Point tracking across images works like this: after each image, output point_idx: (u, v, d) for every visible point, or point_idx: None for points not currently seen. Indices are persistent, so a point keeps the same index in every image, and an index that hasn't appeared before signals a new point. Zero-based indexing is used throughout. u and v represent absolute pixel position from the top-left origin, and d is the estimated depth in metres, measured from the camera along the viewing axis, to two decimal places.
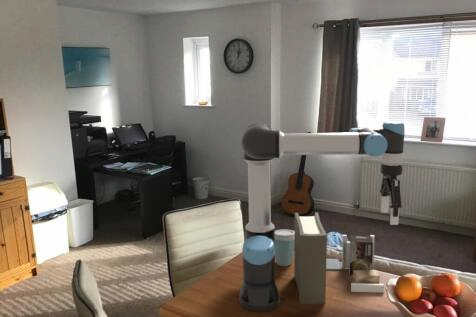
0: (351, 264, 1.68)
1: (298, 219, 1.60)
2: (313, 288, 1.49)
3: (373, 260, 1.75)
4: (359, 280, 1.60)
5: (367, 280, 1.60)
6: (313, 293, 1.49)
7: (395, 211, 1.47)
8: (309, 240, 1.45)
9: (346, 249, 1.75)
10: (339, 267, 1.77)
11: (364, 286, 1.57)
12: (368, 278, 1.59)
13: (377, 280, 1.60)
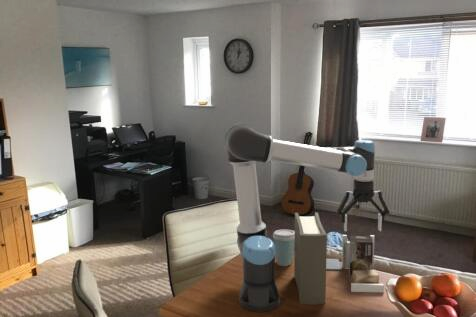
0: (351, 264, 1.68)
1: (298, 219, 1.60)
2: (313, 288, 1.49)
3: (373, 260, 1.75)
4: (358, 280, 1.60)
5: (367, 280, 1.60)
6: (313, 293, 1.49)
7: (341, 217, 1.67)
8: (309, 240, 1.45)
9: (346, 249, 1.75)
10: (339, 267, 1.77)
11: (364, 286, 1.57)
12: (367, 278, 1.60)
13: (376, 280, 1.60)
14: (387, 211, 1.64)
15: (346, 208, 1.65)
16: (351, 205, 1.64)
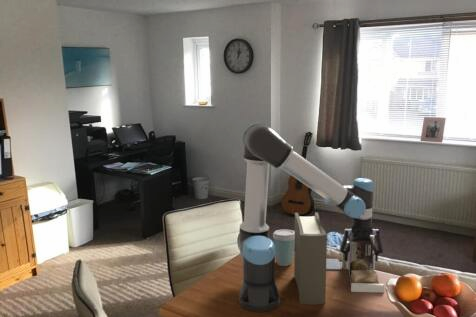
0: (351, 264, 1.68)
1: (298, 219, 1.60)
2: (313, 288, 1.49)
3: None
4: (357, 280, 1.60)
5: (366, 280, 1.60)
6: (313, 293, 1.49)
7: (344, 255, 1.70)
8: (309, 240, 1.45)
9: None
10: (339, 267, 1.77)
11: (364, 286, 1.57)
12: (366, 278, 1.60)
13: (375, 279, 1.60)
14: (381, 251, 1.67)
15: (348, 247, 1.68)
16: None
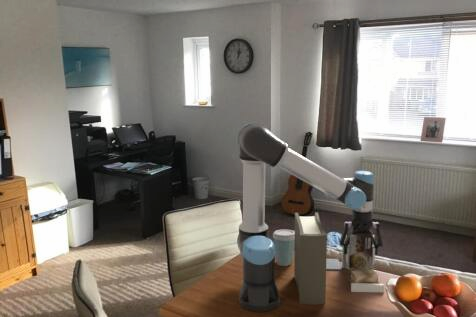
0: (351, 257, 1.67)
1: (298, 219, 1.60)
2: (313, 288, 1.49)
3: None
4: (358, 281, 1.59)
5: (366, 280, 1.60)
6: (313, 293, 1.49)
7: (344, 248, 1.69)
8: (309, 240, 1.45)
9: None
10: (339, 267, 1.77)
11: (364, 286, 1.57)
12: (367, 278, 1.59)
13: (376, 279, 1.60)
14: (380, 244, 1.66)
15: (347, 239, 1.68)
16: None
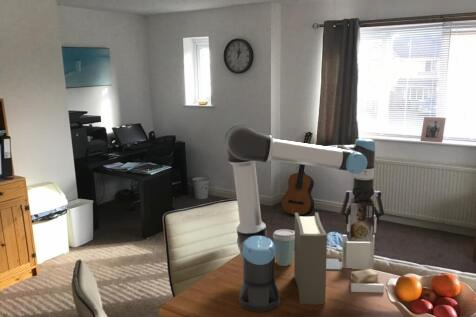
0: (352, 226, 1.65)
1: (298, 219, 1.60)
2: (313, 288, 1.49)
3: (373, 260, 1.75)
4: (360, 281, 1.59)
5: (367, 280, 1.60)
6: (313, 293, 1.49)
7: (345, 218, 1.67)
8: (309, 240, 1.45)
9: (346, 249, 1.75)
10: (339, 267, 1.77)
11: (364, 286, 1.57)
12: (368, 278, 1.60)
13: (376, 279, 1.61)
14: (382, 213, 1.64)
15: (348, 209, 1.65)
16: None
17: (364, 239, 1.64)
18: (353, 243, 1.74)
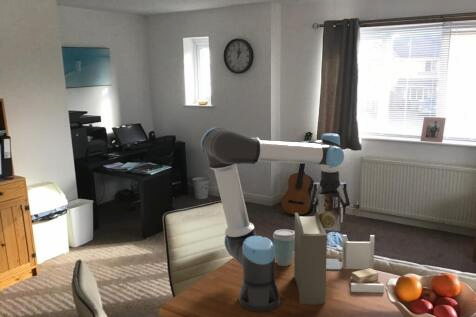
0: (320, 216, 1.74)
1: (298, 219, 1.60)
2: (313, 288, 1.49)
3: (373, 260, 1.75)
4: (361, 281, 1.59)
5: (368, 279, 1.60)
6: (313, 293, 1.49)
7: None
8: (309, 240, 1.45)
9: (346, 249, 1.75)
10: (339, 267, 1.77)
11: (364, 286, 1.57)
12: (369, 277, 1.60)
13: (376, 278, 1.61)
14: (348, 203, 1.74)
15: (316, 200, 1.75)
16: None
17: (331, 228, 1.74)
18: (353, 243, 1.74)
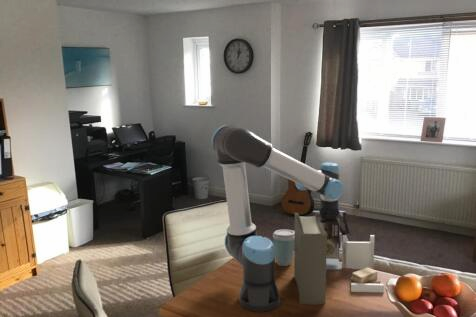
0: None
1: (298, 219, 1.60)
2: (313, 288, 1.49)
3: (373, 260, 1.75)
4: (363, 281, 1.59)
5: (369, 279, 1.60)
6: (313, 293, 1.49)
7: None
8: (309, 240, 1.45)
9: (346, 249, 1.75)
10: (339, 267, 1.77)
11: (364, 286, 1.57)
12: (369, 277, 1.60)
13: (375, 276, 1.62)
14: (347, 231, 1.76)
15: None
16: None
17: (331, 256, 1.77)
18: (353, 243, 1.74)
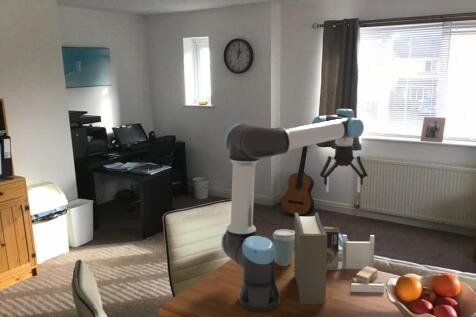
0: None
1: (298, 219, 1.60)
2: (313, 288, 1.49)
3: (373, 260, 1.75)
4: (368, 281, 1.59)
5: (372, 278, 1.61)
6: (313, 293, 1.49)
7: (324, 179, 1.83)
8: (309, 240, 1.45)
9: (346, 249, 1.75)
10: (339, 267, 1.77)
11: (364, 286, 1.57)
12: (372, 276, 1.61)
13: (376, 274, 1.64)
14: (365, 174, 1.79)
15: (328, 171, 1.81)
16: (332, 168, 1.80)
17: (330, 264, 1.77)
18: (353, 243, 1.74)
